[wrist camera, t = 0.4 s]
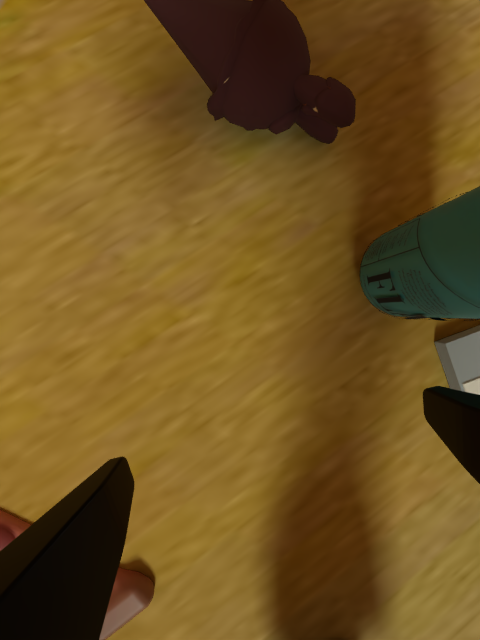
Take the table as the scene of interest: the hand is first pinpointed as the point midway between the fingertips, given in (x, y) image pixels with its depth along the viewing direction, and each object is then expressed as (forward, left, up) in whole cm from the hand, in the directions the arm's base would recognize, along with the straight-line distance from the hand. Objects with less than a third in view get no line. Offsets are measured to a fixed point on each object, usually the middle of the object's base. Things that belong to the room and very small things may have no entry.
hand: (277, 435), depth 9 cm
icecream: (+18, -6, -14) cm, 24 cm away
